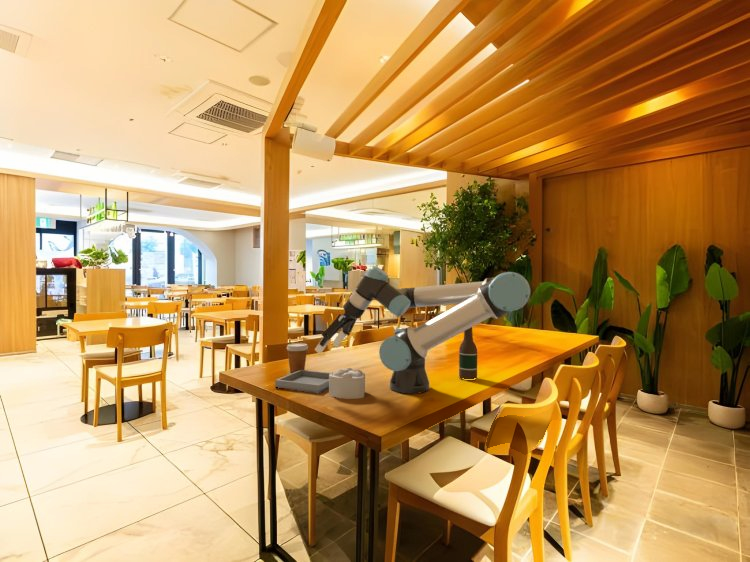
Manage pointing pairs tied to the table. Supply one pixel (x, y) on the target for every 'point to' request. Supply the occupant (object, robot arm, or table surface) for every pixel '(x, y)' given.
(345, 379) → the lumpy-topped squat cylinder
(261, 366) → the table surface
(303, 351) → the disposable coffee cup
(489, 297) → the robot arm
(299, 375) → the charcoal tray
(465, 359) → the beer bottle
